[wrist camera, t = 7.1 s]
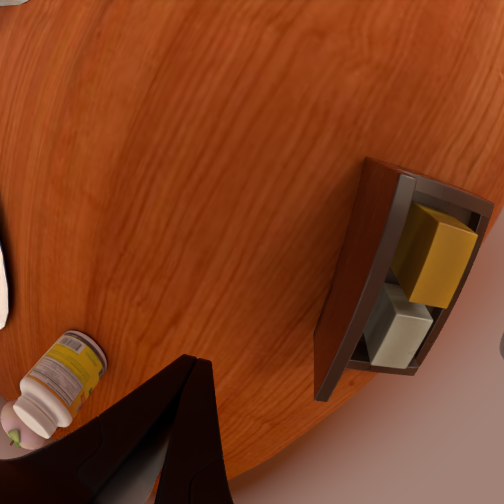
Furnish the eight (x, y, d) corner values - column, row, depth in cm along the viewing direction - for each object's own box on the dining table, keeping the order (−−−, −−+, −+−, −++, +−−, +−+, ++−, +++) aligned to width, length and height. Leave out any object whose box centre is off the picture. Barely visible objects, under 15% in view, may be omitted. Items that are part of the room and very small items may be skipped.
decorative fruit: (17, 376, 33) (-17, 416, 24) (55, 407, 33) (24, 452, 24) (23, 401, 37) (-4, 436, 28) (58, 428, 37) (33, 467, 28)
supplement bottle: (89, 374, 27) (41, 442, 18) (57, 333, 25) (-2, 398, 16) (120, 367, 25) (68, 448, 16) (84, 321, 23) (16, 397, 14)
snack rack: (478, 195, 14) (535, 227, 9) (412, 349, 19) (433, 409, 14) (365, 156, 15) (400, 172, 10) (313, 333, 20) (313, 400, 15)
